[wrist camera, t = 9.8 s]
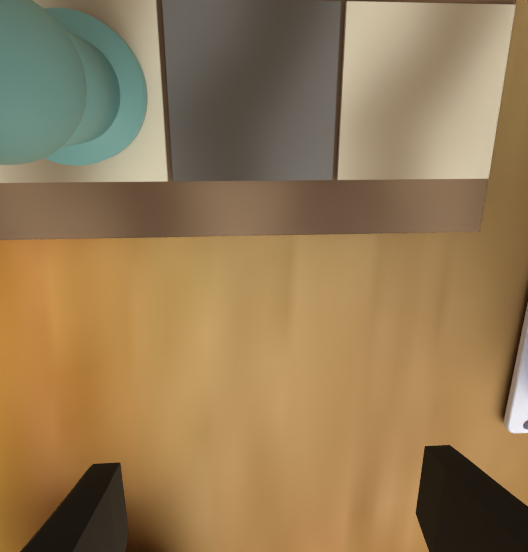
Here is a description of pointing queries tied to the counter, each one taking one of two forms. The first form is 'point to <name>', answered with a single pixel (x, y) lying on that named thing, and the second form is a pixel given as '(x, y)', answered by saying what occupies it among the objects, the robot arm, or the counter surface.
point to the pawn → (65, 87)
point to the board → (286, 122)
